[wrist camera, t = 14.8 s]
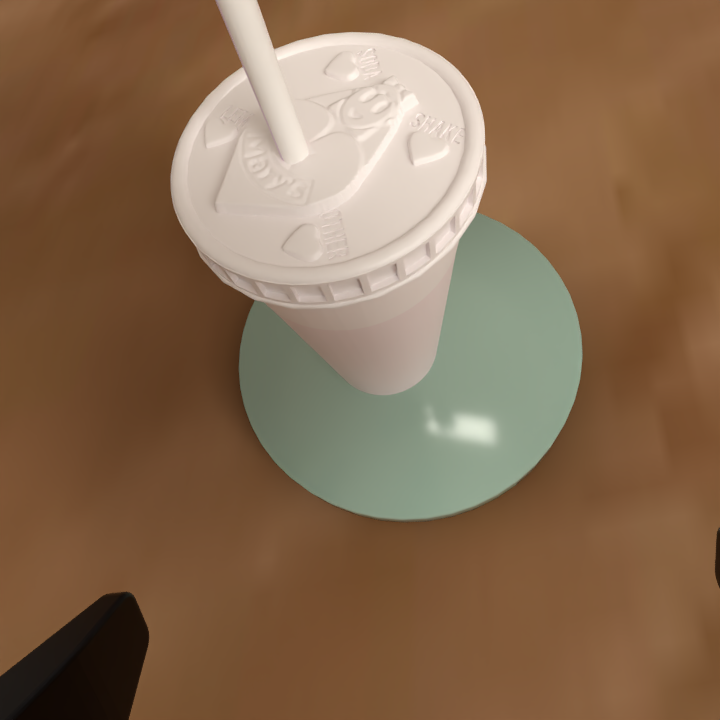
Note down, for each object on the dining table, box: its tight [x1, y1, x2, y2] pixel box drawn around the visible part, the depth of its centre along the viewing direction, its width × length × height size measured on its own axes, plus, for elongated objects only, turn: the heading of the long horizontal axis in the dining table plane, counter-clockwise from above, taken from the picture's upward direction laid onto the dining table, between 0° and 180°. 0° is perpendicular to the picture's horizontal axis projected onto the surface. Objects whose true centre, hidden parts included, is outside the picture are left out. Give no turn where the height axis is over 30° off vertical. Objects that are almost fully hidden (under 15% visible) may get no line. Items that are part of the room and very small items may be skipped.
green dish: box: [239, 213, 582, 522], centre depth 20 cm, size 12×12×1 cm
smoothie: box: [171, 0, 487, 395], centre depth 13 cm, size 6×6×14 cm
